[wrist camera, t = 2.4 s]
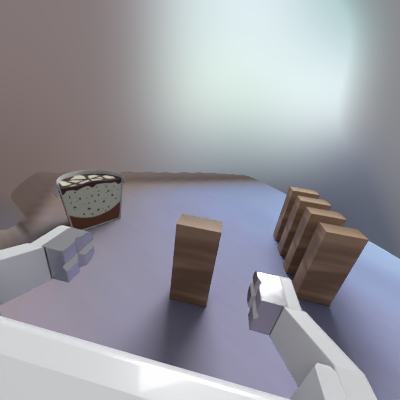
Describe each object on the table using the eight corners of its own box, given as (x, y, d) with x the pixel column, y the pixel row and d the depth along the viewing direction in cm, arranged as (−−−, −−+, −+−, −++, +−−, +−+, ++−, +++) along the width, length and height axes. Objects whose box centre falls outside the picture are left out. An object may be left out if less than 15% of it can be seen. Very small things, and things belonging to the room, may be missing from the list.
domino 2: (298, 244, 42) (319, 195, 37) (275, 240, 43) (292, 190, 38) (295, 238, 44) (314, 190, 39) (273, 234, 45) (289, 186, 40)
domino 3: (306, 260, 38) (331, 205, 33) (280, 254, 38) (301, 200, 33) (302, 252, 40) (325, 200, 35) (277, 247, 40) (296, 195, 35)
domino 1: (205, 307, 26) (221, 232, 21) (169, 298, 26) (176, 223, 21) (207, 292, 28) (222, 221, 23) (174, 284, 28) (181, 213, 23)
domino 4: (315, 279, 33) (346, 219, 28) (286, 273, 34) (311, 213, 29) (310, 269, 35) (338, 212, 30) (283, 263, 36) (305, 206, 31)
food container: (112, 206, 47) (109, 166, 43) (126, 216, 44) (125, 174, 40) (52, 222, 38) (41, 174, 34) (64, 237, 35) (54, 185, 31)
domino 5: (329, 305, 29) (368, 239, 24) (294, 298, 29) (326, 231, 24) (322, 292, 31) (357, 229, 26) (290, 285, 31) (318, 222, 26)
